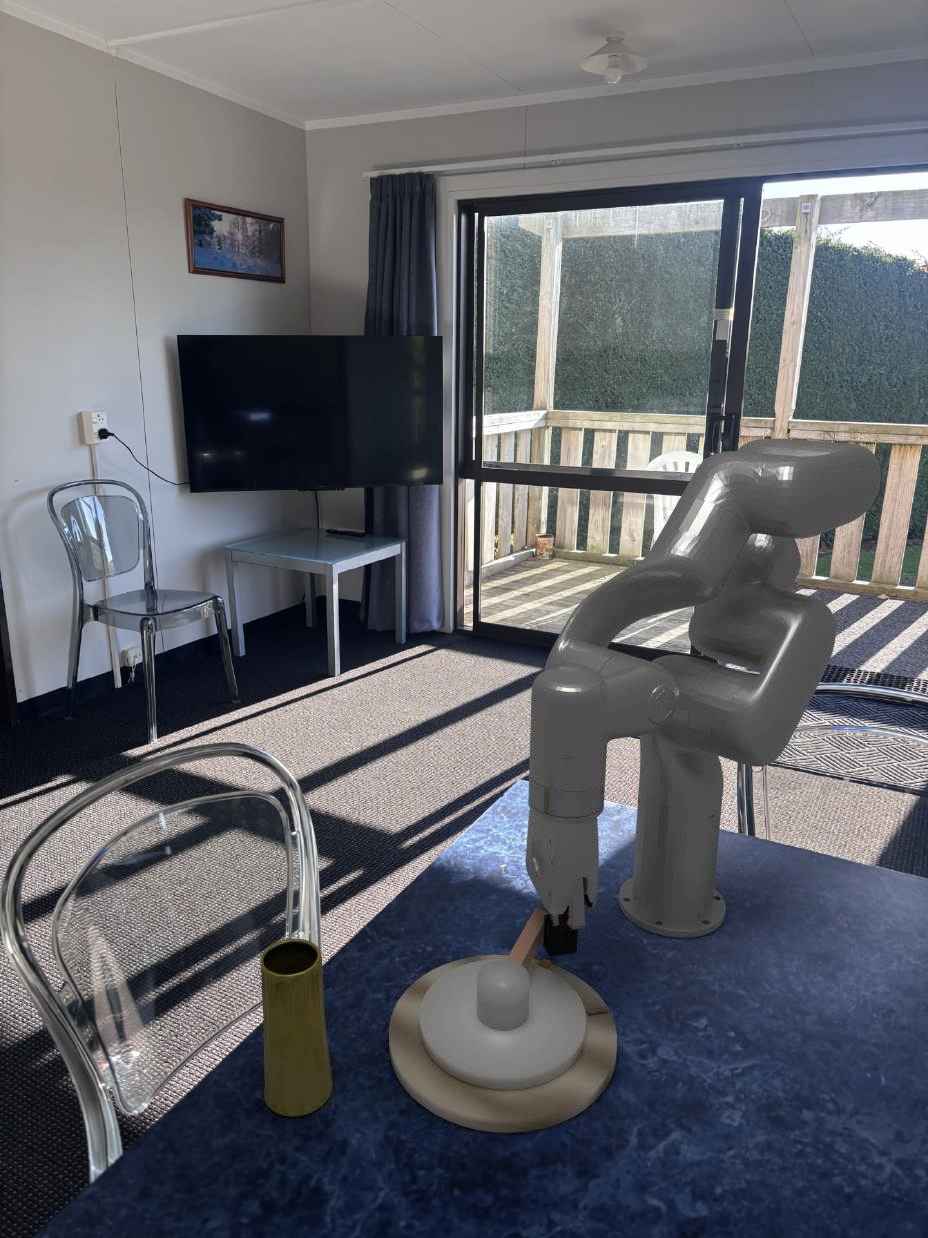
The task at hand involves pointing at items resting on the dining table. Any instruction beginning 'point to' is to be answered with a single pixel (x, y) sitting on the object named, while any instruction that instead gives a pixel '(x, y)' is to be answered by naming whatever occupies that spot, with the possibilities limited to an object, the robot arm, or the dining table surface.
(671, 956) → the dining table surface
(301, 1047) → the vase
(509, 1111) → the dial base
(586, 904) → the robot arm
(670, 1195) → the dining table surface
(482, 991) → the dial
